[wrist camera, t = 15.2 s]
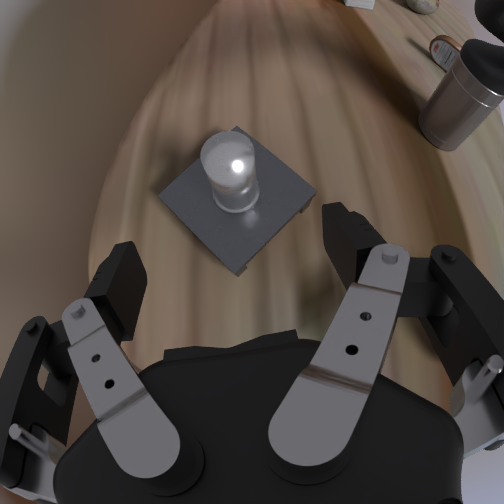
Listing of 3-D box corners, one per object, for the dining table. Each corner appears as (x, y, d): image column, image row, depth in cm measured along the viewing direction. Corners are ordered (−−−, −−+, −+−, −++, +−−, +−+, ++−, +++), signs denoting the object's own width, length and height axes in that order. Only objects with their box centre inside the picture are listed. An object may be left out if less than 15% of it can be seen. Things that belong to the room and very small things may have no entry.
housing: (236, 163, 37) (228, 119, 27) (269, 191, 36) (270, 151, 26) (204, 193, 36) (185, 155, 27) (235, 223, 35) (225, 191, 26)
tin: (477, 95, 44) (494, 74, 36) (473, 100, 44) (491, 78, 36) (428, 51, 47) (440, 27, 39) (422, 54, 47) (435, 29, 39)
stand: (239, 144, 43) (236, 125, 38) (311, 205, 40) (317, 191, 35) (169, 208, 41) (157, 195, 36) (238, 279, 39) (234, 273, 34)
